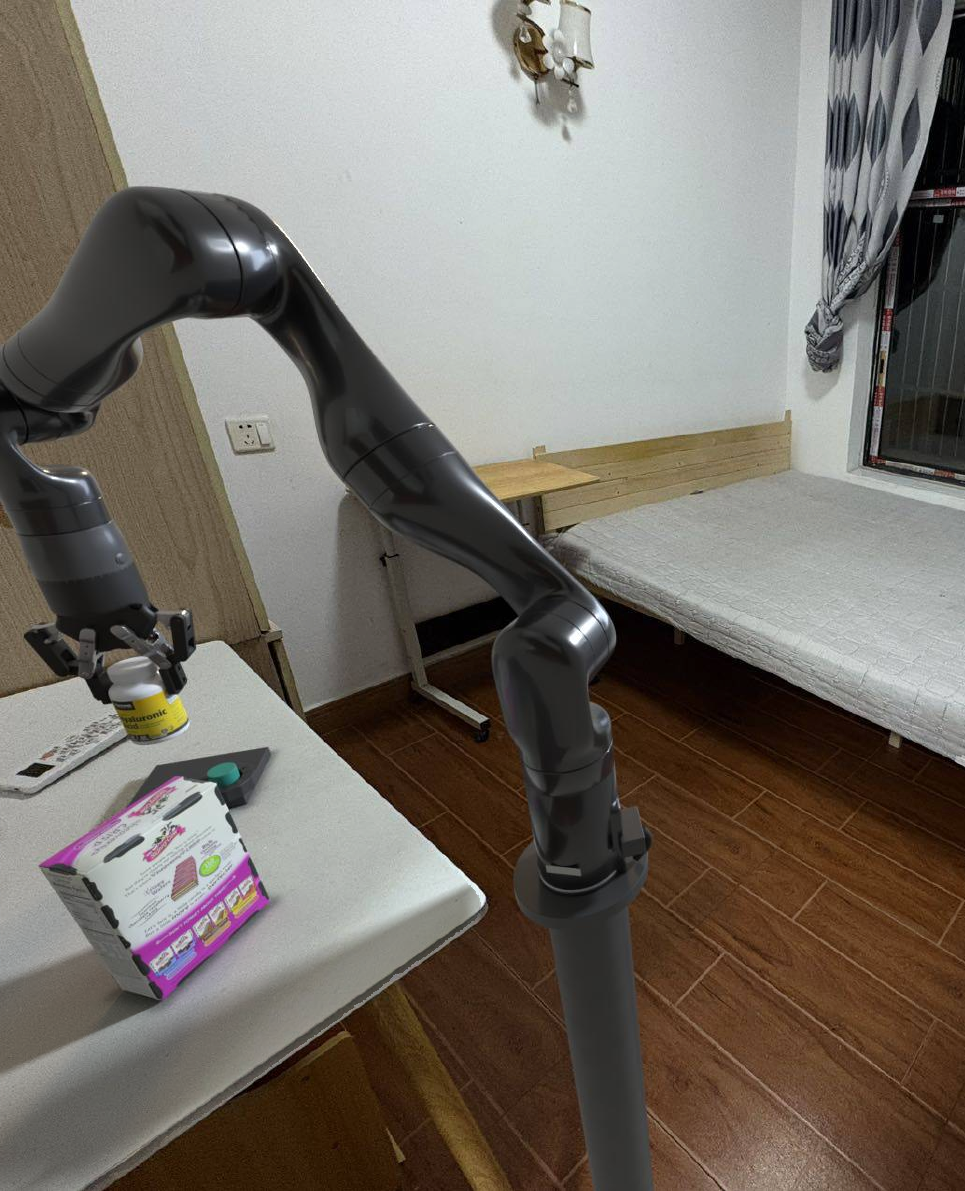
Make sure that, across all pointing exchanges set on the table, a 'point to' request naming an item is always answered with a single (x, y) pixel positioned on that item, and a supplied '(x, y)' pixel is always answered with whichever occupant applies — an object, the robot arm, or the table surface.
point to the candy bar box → (160, 885)
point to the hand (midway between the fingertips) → (144, 695)
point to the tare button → (223, 774)
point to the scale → (233, 794)
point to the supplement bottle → (145, 702)
